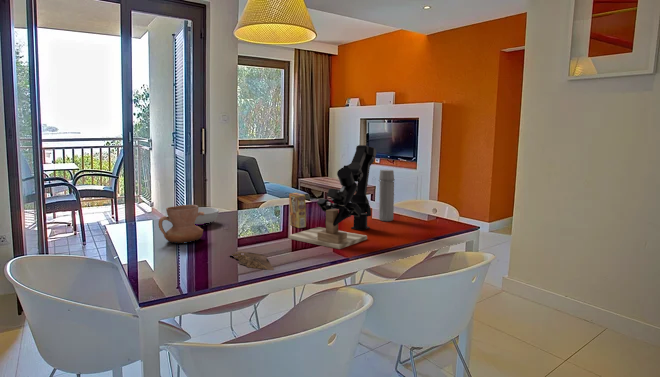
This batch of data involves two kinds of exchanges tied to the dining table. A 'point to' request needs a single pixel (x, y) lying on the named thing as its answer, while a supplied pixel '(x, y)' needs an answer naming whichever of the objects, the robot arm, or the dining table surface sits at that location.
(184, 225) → the ceramic jug
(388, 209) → the water bottle
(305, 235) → the birch board
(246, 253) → the wooden fragment
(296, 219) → the candy box
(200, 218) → the serving bowl
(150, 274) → the dining table surface
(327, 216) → the block
